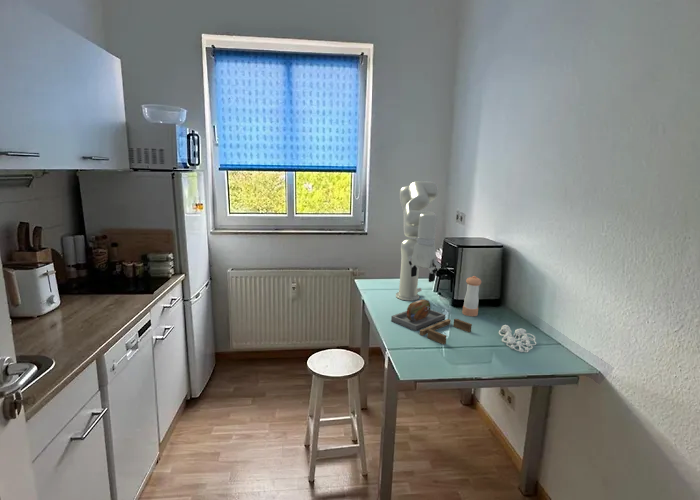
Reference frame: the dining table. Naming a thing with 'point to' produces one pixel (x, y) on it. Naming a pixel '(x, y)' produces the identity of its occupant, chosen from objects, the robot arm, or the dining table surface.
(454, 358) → the dining table surface
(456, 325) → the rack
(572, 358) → the dining table surface
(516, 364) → the dining table surface
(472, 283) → the pepper shaker
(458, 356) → the dining table surface
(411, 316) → the tin
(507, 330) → the tangled rod sculpture
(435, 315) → the tray
